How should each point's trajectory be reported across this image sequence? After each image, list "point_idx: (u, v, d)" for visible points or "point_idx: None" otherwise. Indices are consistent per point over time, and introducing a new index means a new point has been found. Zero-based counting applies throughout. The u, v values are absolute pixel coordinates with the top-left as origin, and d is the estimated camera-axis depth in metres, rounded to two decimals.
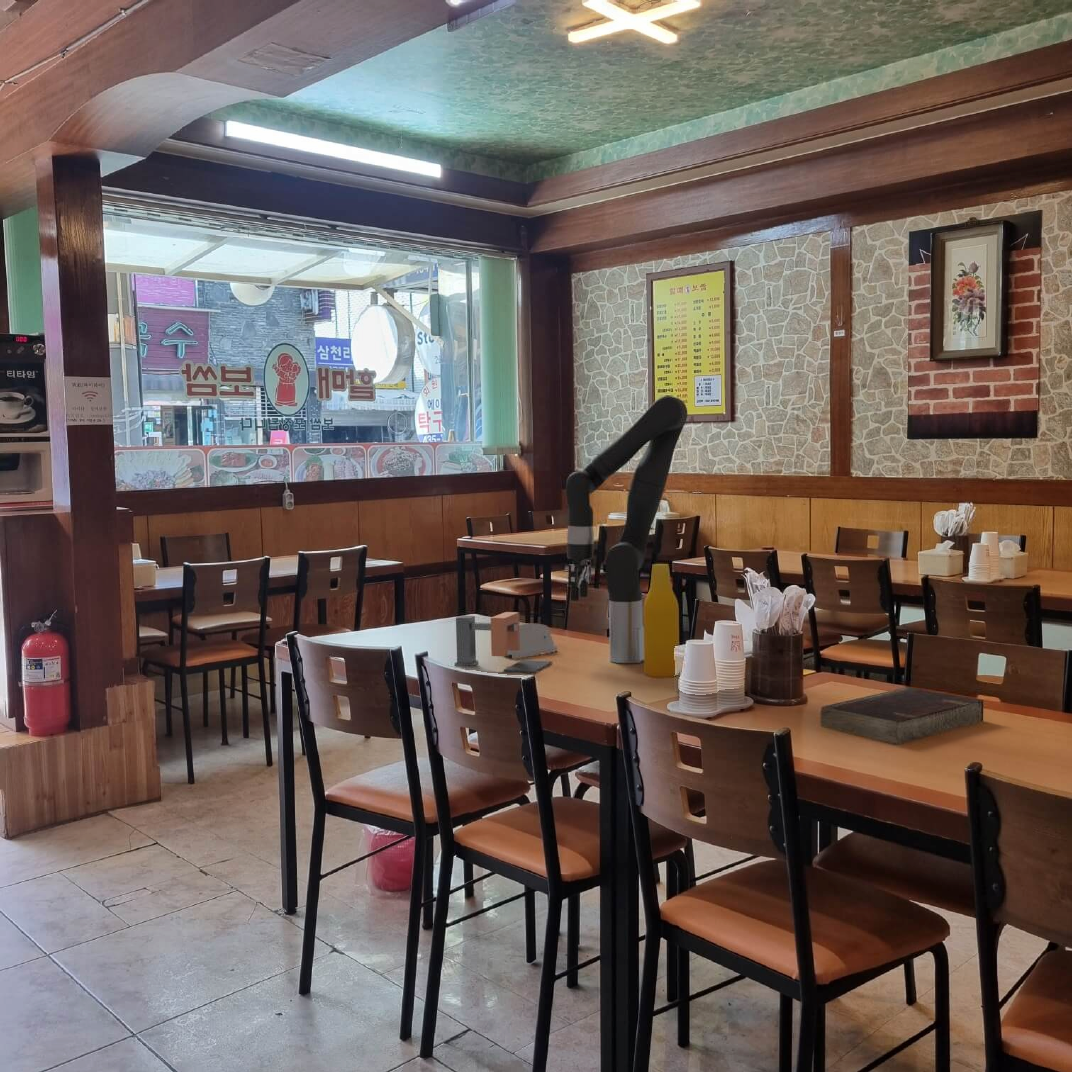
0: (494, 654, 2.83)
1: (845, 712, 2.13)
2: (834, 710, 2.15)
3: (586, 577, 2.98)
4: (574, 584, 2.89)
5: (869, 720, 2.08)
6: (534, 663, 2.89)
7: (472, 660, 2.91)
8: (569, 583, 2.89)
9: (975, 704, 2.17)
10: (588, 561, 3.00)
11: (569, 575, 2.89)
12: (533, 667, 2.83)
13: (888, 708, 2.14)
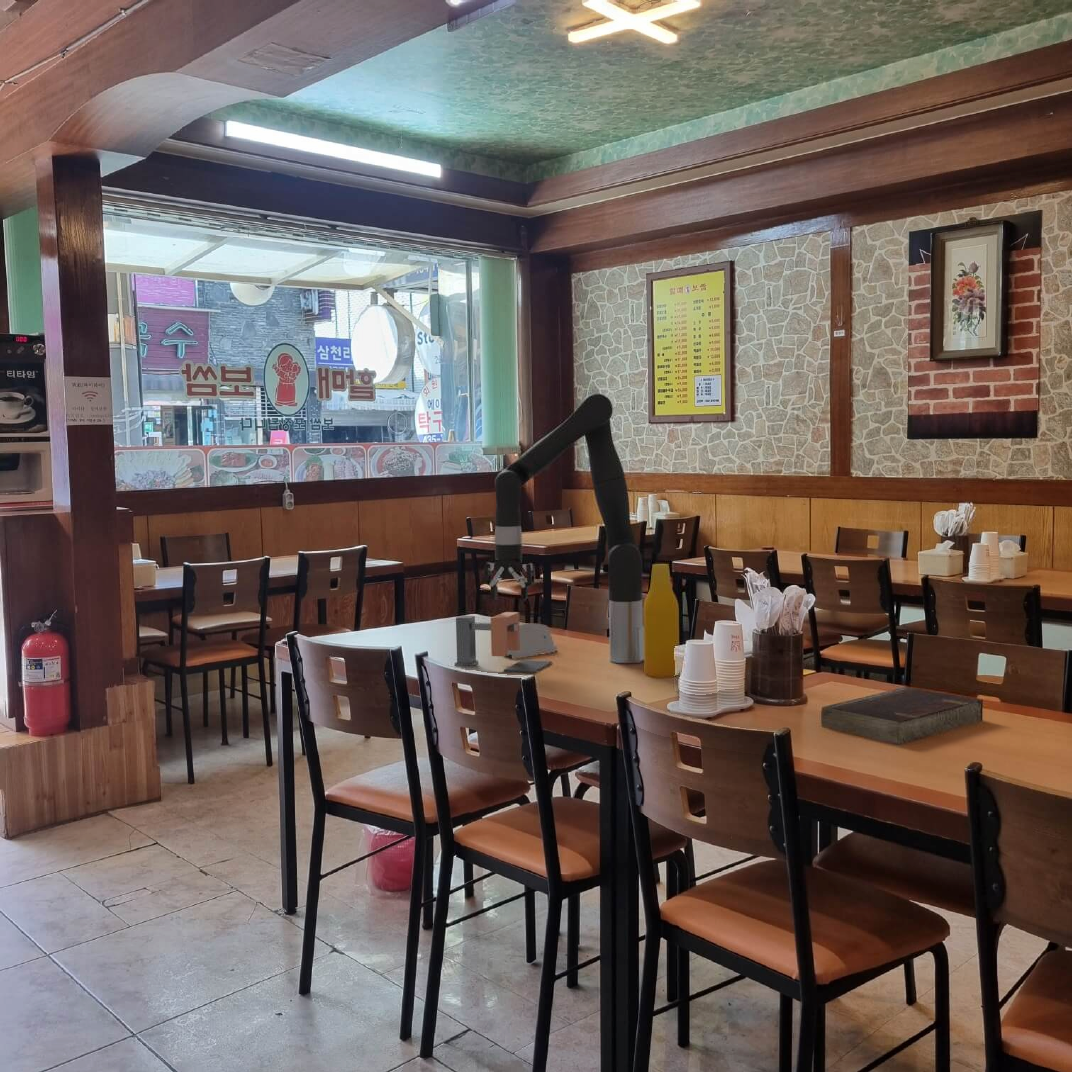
0: (494, 654, 2.83)
1: (846, 712, 2.12)
2: (835, 710, 2.15)
3: (500, 579, 2.92)
4: (533, 583, 2.88)
5: (870, 720, 2.08)
6: (534, 663, 2.89)
7: (472, 660, 2.91)
8: (531, 583, 2.87)
9: (975, 704, 2.18)
10: None
11: (531, 575, 2.87)
12: (533, 667, 2.83)
13: (889, 708, 2.14)
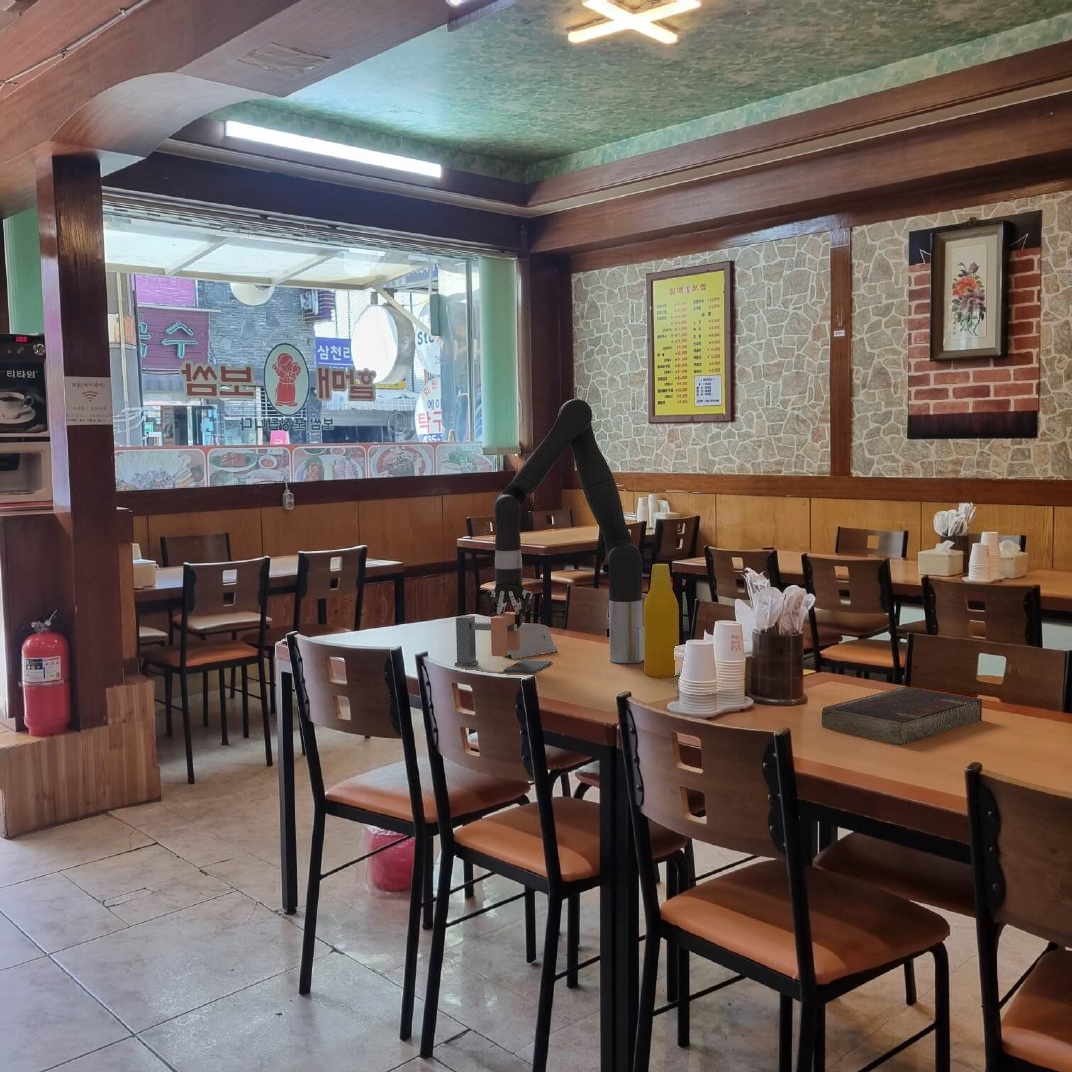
0: (494, 654, 2.83)
1: (847, 713, 2.12)
2: (836, 711, 2.14)
3: (505, 604, 2.92)
4: (527, 610, 2.89)
5: (872, 721, 2.07)
6: (534, 663, 2.89)
7: (472, 660, 2.91)
8: (525, 611, 2.88)
9: (974, 704, 2.18)
10: (490, 591, 2.93)
11: (527, 603, 2.88)
12: (533, 667, 2.83)
13: (889, 708, 2.14)
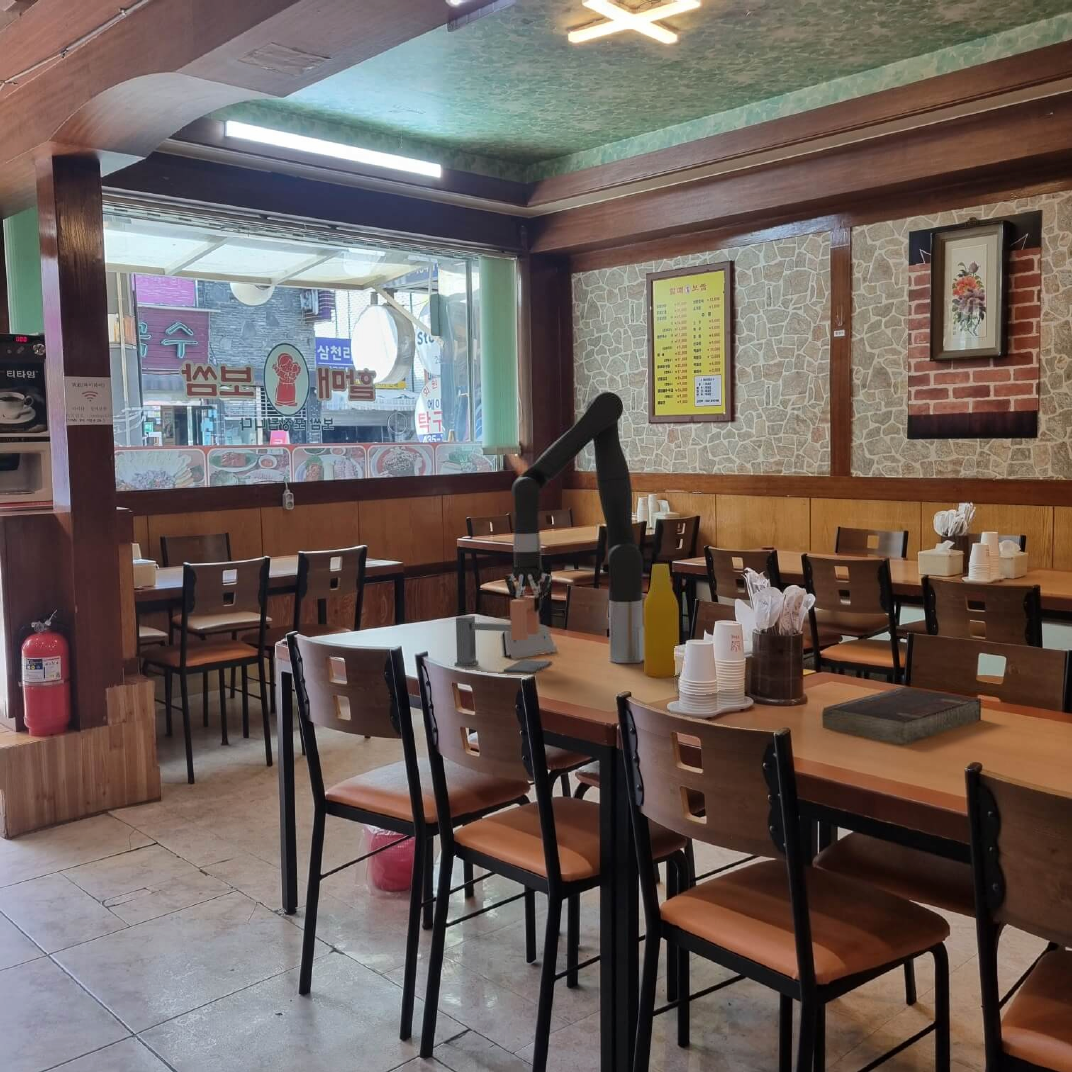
0: (514, 638, 2.81)
1: (848, 713, 2.12)
2: (837, 711, 2.14)
3: (524, 587, 2.90)
4: (546, 593, 2.87)
5: (874, 721, 2.07)
6: (534, 663, 2.89)
7: (472, 660, 2.91)
8: (545, 594, 2.86)
9: (973, 703, 2.18)
10: None
11: (547, 586, 2.85)
12: (533, 667, 2.83)
13: (890, 708, 2.14)
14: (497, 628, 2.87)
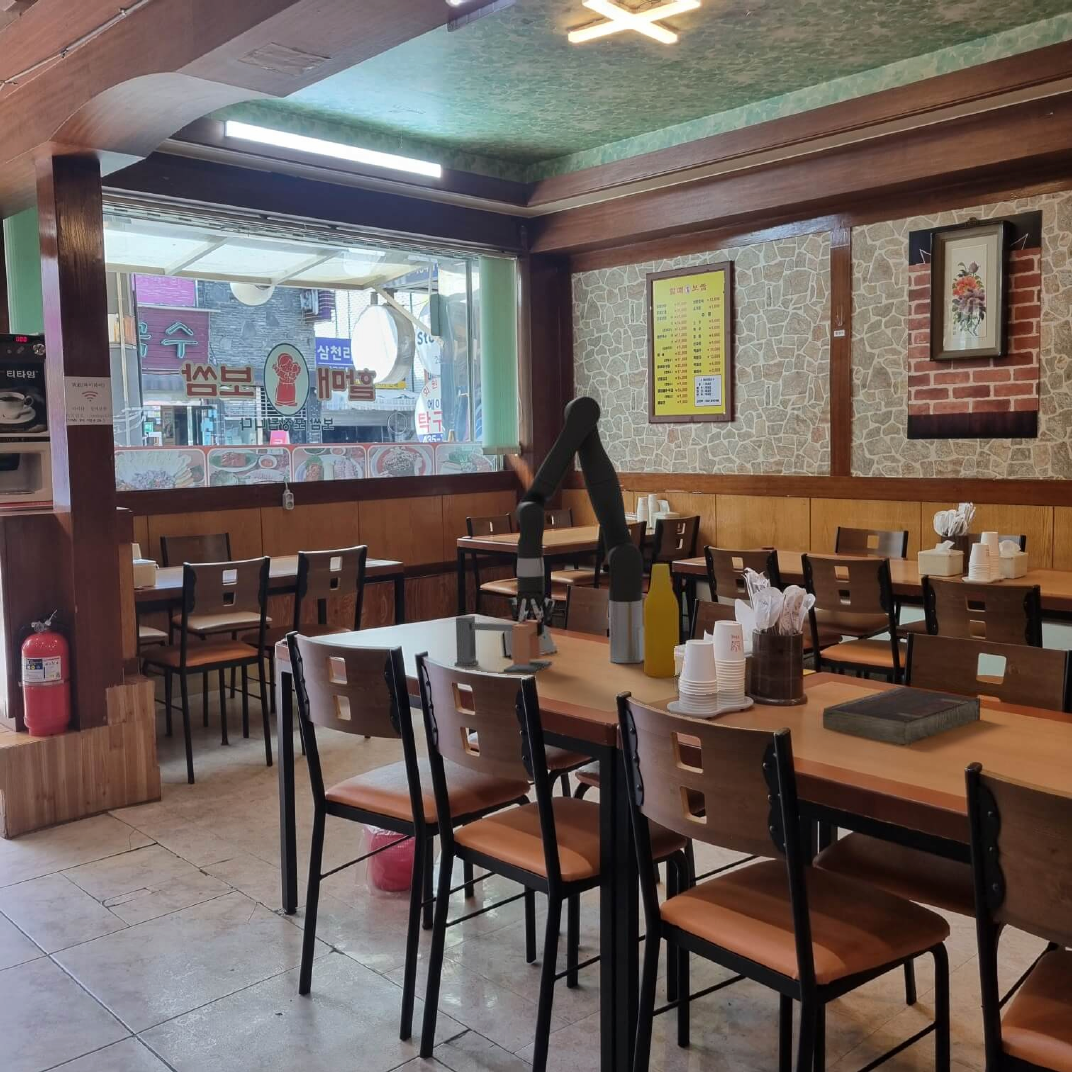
0: (516, 662, 2.81)
1: (849, 713, 2.12)
2: (837, 712, 2.14)
3: (527, 612, 2.90)
4: (549, 618, 2.87)
5: (875, 721, 2.07)
6: (534, 663, 2.89)
7: (472, 660, 2.91)
8: (547, 619, 2.86)
9: (973, 703, 2.18)
10: None
11: (550, 611, 2.85)
12: (533, 667, 2.83)
13: (890, 708, 2.14)
14: (497, 628, 2.87)
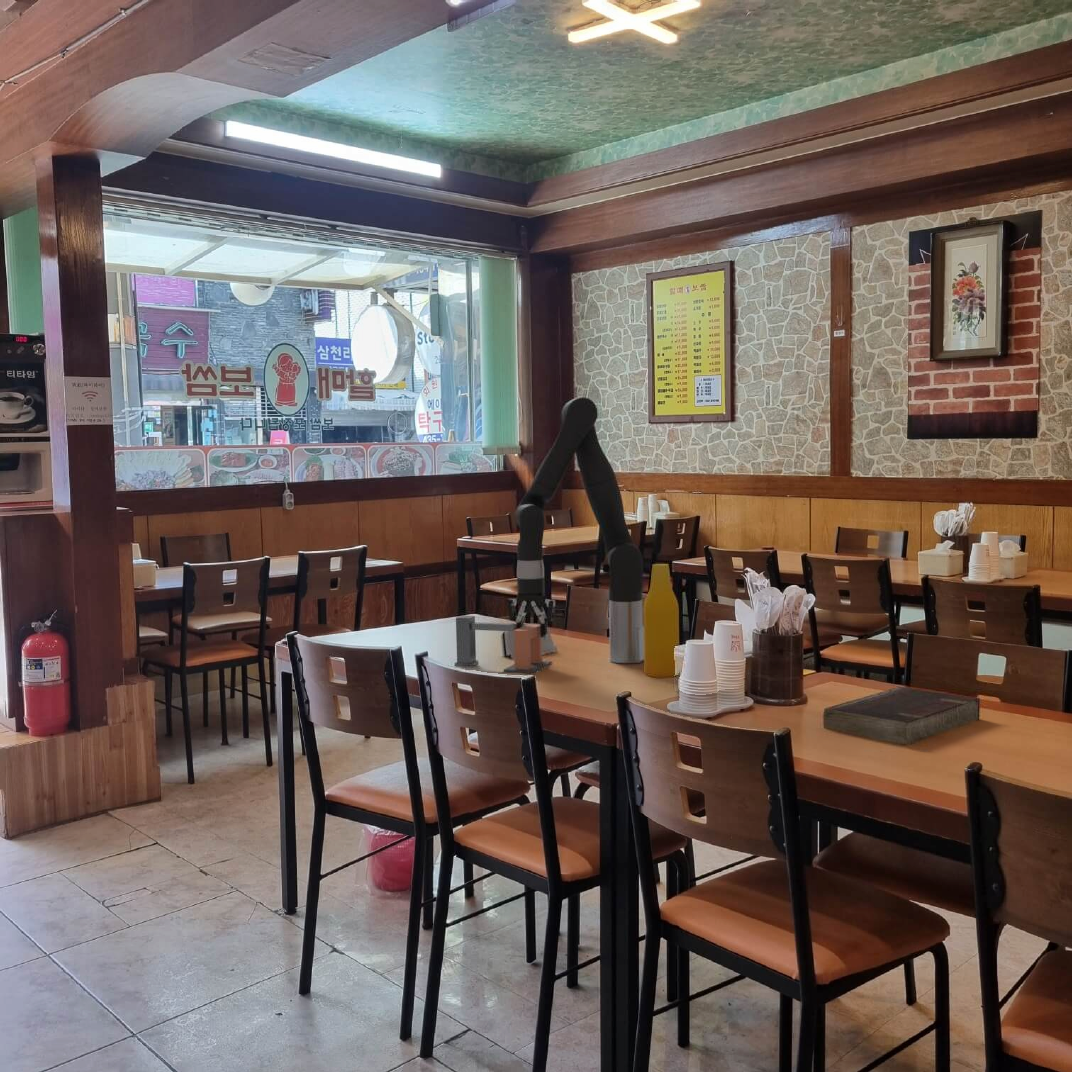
0: (517, 667, 2.81)
1: (850, 713, 2.11)
2: (838, 712, 2.13)
3: (525, 613, 2.90)
4: (552, 619, 2.87)
5: (876, 721, 2.07)
6: (534, 663, 2.89)
7: (472, 660, 2.91)
8: (551, 619, 2.86)
9: (972, 703, 2.19)
10: (512, 599, 2.91)
11: (552, 611, 2.85)
12: (533, 667, 2.83)
13: (891, 708, 2.14)
14: (497, 628, 2.87)
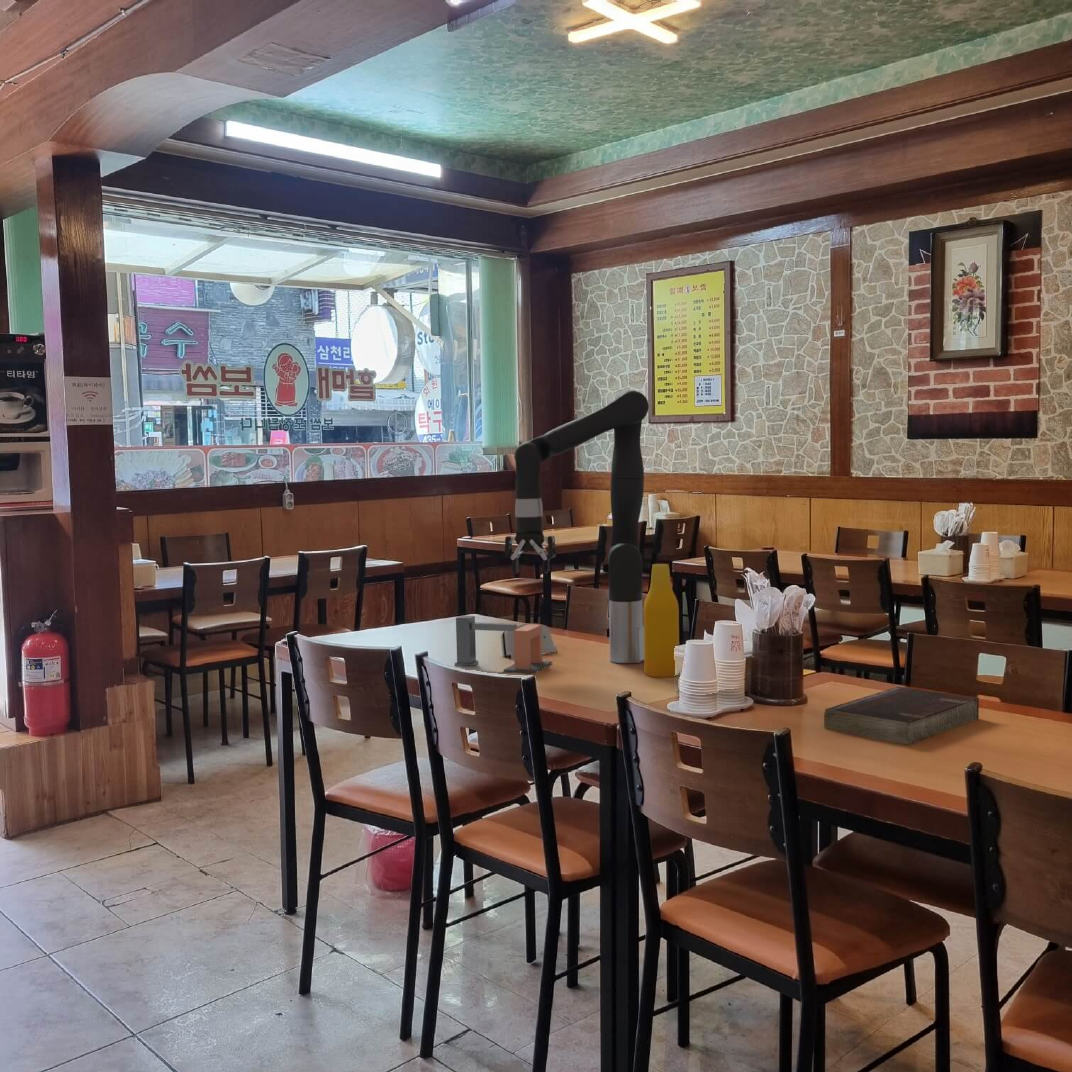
0: (517, 667, 2.81)
1: (851, 714, 2.11)
2: (839, 712, 2.13)
3: (521, 552, 2.91)
4: (555, 555, 2.87)
5: (877, 722, 2.07)
6: (534, 663, 2.89)
7: (472, 660, 2.91)
8: (553, 555, 2.86)
9: (972, 702, 2.19)
10: (511, 537, 2.91)
11: (552, 547, 2.85)
12: (533, 667, 2.83)
13: (891, 709, 2.14)
14: (497, 628, 2.87)
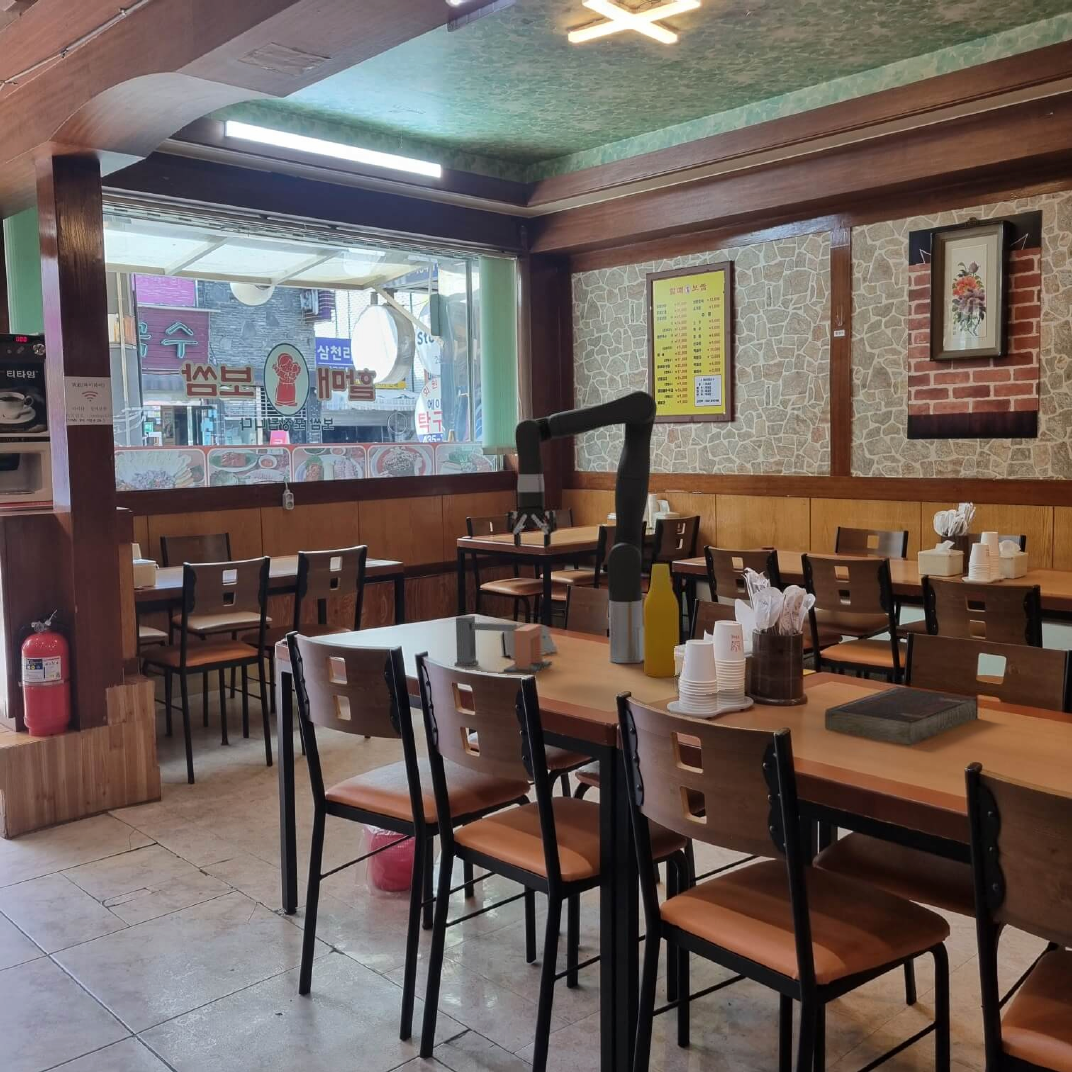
0: (517, 667, 2.81)
1: (852, 714, 2.11)
2: (840, 712, 2.13)
3: (523, 526, 2.97)
4: (556, 530, 2.94)
5: (879, 722, 2.06)
6: (534, 663, 2.89)
7: (472, 660, 2.91)
8: (554, 529, 2.92)
9: (971, 702, 2.19)
10: (513, 511, 2.98)
11: (554, 521, 2.92)
12: (533, 667, 2.83)
13: (892, 709, 2.13)
14: (497, 628, 2.87)
